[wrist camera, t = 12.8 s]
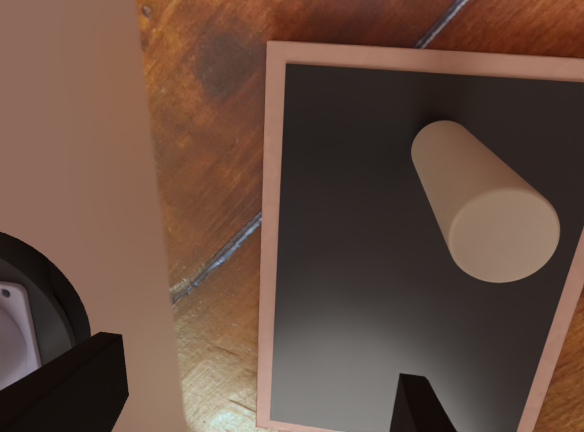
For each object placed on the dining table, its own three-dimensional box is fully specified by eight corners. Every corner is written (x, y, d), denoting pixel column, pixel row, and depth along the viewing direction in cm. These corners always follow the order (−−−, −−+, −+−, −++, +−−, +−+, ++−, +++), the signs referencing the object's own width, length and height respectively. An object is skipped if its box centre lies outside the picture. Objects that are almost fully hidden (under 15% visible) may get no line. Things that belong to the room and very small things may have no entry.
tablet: (259, 413, 26) (255, 428, 25) (271, 40, 18) (266, 39, 17) (513, 453, 24) (520, 472, 23) (644, 61, 16) (663, 63, 15)
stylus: (404, 168, 18) (439, 277, 10) (413, 113, 17) (458, 182, 9) (460, 173, 18) (545, 290, 10) (471, 117, 17) (575, 192, 9)
